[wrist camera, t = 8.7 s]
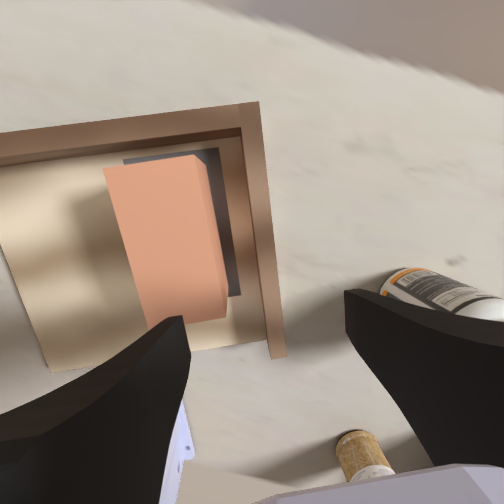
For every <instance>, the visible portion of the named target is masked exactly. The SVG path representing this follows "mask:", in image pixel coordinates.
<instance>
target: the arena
mask: <svg viewBox="0 0 504 504" xmlns="http://www.w3.org/2000/svg"><path fill="white" fill-rule="evenodd" d="M187 155H195V156H196V157H197V158H198V159H200V160H201V161H202V162H203V163H204V164H205V165H206V168H207V174H208V179H209V184H210V190H211V195H212V200H213V206H214V211H215V216H216V222H217V227H218V232H219V238H220V243H221V248H222V254H223V259H224V264H225V270H226V275H227V280H228V299H227V312H226V318H221V319H215V320H209V321H203V322H198V323H192V324H186V325H185V329H186V334H187V338H188V343H189V348H190V351H196V350H203V349H209V348H216V347H222V346H229V345H235V344H242V343H248V342H255V341H261V340H267V343H268V348H269V352H270V357H271V359H277V358H283V357H287V352H286V343H285V334H284V325H283V316H282V307H281V298H280V289H279V279H278V270H277V261H276V252H275V243H274V234H273V225H272V216H271V207H270V198H269V188H268V179H267V170H266V161H265V152H264V143H263V134H262V125H261V116H260V107H259V101H257V102H249V103H241V104H233V105H224V106H216V107H208V108H200V109H192V110H184V111H176V112H168V113H159V114H151V115H143V116H135V117H127V118H119V119H111V120H102V121H94V122H86V123H78V124H70V125H62V126H54V127H46V128H37V129H29V130H21V131H13V132H5V133H0V245H1V247H2V250H3V252H4V255H5V257H6V260H7V263H8V265H9V268H10V270H11V273H12V275H13V278H14V280H15V283H16V285H17V288H18V291H19V293H20V296H21V298H22V301H23V303H24V306H25V308H26V311H27V313H28V316H29V319H30V321H31V324H32V326H33V329H34V331H35V334H36V336H37V339H38V341H39V344H40V347H41V349H42V352H43V354H44V357H45V359H46V362H47V364H48V367H49V369H50V372H51V373H53V372H60V371H66V370H73V369H79V368H86V367H92V366H99V365H101V364H102V363H104V362H106V361H107V360H109V359H110V358H112V357H113V356H115V355H116V354H118V353H119V352H120V351H122V350H123V349H125V348H126V347H128V346H129V345H130V344H132V343H133V342H135V341H136V340H137V339H139V338H140V337H141V336H143V335H144V334H145V333H146V332H148V331H149V329H148V326H147V322H146V319H145V315H144V312H143V308H142V305H141V301H140V298H139V294H138V291H137V288H136V284H135V281H134V277H133V274H132V270H131V267H130V263H129V260H128V256H127V253H126V249H125V246H124V242H123V239H122V235H121V232H120V228H119V225H118V222H117V218H116V215H115V211H114V208H113V204H112V201H111V197H110V194H109V190H108V187H107V183H106V180H105V176H104V173H103V169H102V168H108V167H115V166H121V165H128V164H134V163H141V162H147V161H154V160H161V159H167V158H174V157H180V156H187Z"/></svg>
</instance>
